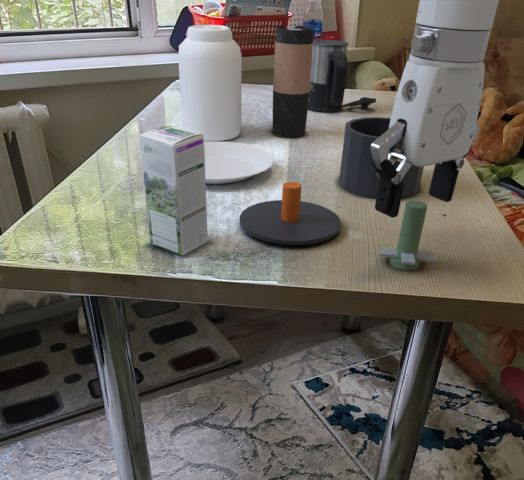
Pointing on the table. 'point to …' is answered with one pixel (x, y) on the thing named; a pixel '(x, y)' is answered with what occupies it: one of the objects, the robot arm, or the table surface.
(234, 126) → the white jar
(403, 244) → the green peg on stand
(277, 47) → the travel mug
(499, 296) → the table surface
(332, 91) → the milk frother
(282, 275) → the table surface
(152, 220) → the syrup box
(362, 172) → the bowl
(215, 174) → the plate
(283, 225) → the lid
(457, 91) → the robot arm
